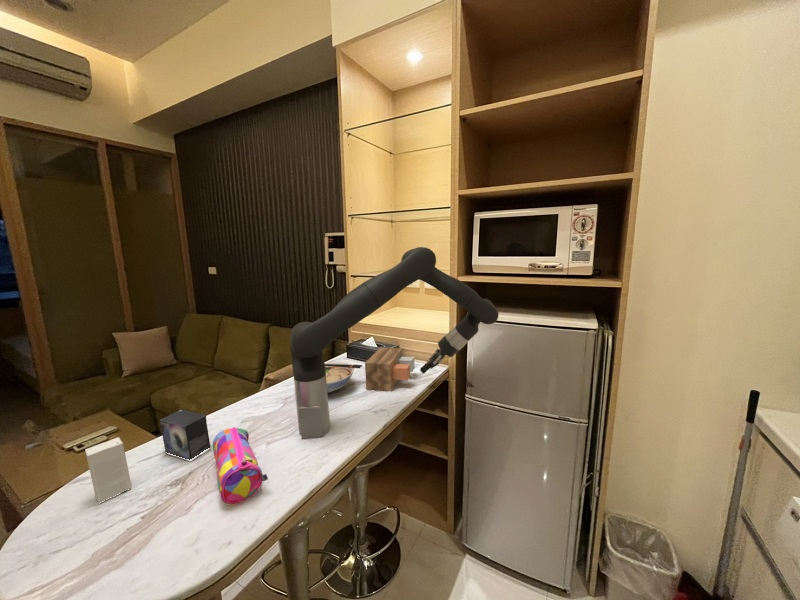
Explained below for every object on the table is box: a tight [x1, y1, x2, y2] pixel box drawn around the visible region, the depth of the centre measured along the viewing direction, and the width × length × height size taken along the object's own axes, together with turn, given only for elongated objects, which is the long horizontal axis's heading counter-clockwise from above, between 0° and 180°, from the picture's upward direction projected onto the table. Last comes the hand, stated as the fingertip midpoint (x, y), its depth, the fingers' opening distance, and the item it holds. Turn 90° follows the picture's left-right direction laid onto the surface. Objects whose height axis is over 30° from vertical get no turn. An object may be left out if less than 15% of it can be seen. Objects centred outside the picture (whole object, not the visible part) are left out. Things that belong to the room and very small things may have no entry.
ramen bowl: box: [324, 361, 363, 394], centre depth 124 cm, size 25×23×8 cm
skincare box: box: [84, 436, 133, 504], centre depth 72 cm, size 6×4×12 cm
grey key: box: [398, 356, 416, 373], centre depth 133 cm, size 7×5×5 cm
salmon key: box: [392, 364, 411, 382], centre depth 124 cm, size 7×5×5 cm
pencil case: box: [212, 427, 269, 506], centre depth 76 cm, size 22×9×9 cm, turn 37°
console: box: [364, 347, 403, 392], centre depth 130 cm, size 10×20×11 cm, turn 166°
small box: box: [159, 409, 212, 460], centre depth 87 cm, size 11×6×10 cm, turn 68°
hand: (421, 371), depth 122 cm, fingers closed
